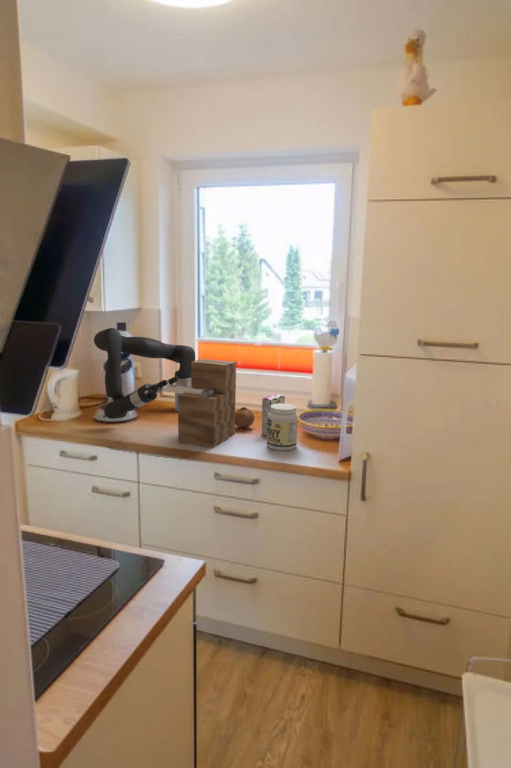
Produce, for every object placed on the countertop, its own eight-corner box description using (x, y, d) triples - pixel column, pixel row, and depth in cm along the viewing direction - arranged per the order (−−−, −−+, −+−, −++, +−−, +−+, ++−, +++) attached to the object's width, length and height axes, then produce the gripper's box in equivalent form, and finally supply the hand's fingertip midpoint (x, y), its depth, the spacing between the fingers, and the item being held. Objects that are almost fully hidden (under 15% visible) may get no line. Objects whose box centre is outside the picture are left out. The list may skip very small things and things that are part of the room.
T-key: (169, 388, 215) (169, 383, 214) (215, 394, 207) (216, 388, 207) (159, 392, 208) (159, 386, 207) (206, 398, 200) (207, 392, 199)
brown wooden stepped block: (202, 429, 227) (202, 358, 221) (234, 434, 221) (236, 361, 215) (178, 442, 208) (177, 365, 202) (213, 448, 202) (214, 369, 196)
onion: (240, 432, 224) (240, 410, 222) (229, 427, 232) (229, 406, 230) (258, 429, 229) (258, 408, 227) (246, 424, 237) (247, 403, 235)
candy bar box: (275, 428, 231) (276, 393, 228) (284, 430, 228) (285, 395, 225) (260, 434, 223) (261, 397, 219) (269, 436, 220) (271, 399, 216)
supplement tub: (260, 446, 206) (261, 405, 203) (280, 440, 215) (282, 401, 212) (282, 453, 198) (284, 411, 195) (302, 447, 206) (304, 406, 203)
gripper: (129, 390, 209) (158, 374, 203) (148, 384, 222) (176, 369, 216) (137, 407, 209) (166, 391, 203) (156, 399, 222) (184, 384, 216)
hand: (171, 379), depth 209 cm, fingers open, 8 cm apart
